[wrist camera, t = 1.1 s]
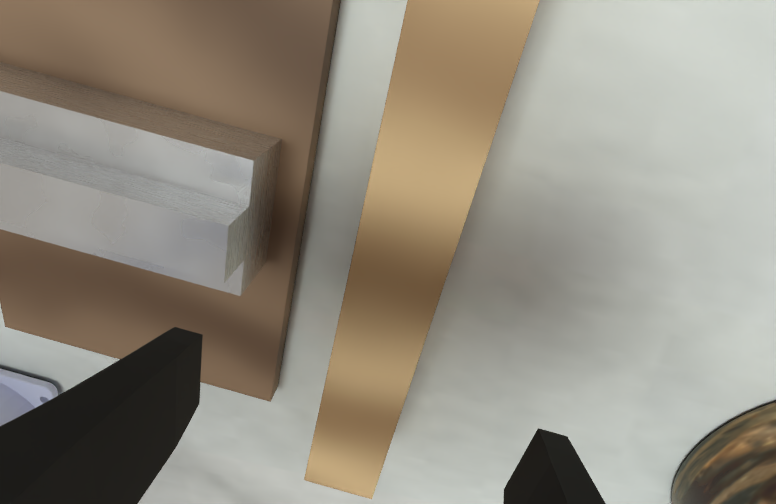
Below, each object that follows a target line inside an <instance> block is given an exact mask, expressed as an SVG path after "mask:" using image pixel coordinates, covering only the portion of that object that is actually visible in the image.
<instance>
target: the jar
mask: <svg viewBox="0 0 776 504" xmlns="http://www.w3.org/2000/svg"><path fill="white" fill-rule="evenodd" d="M671 502H672V504H776V402H774V403H771V404H768V405H765V406H763V407H760V408H758V409H755V410H753V411H751V412H748V413H746V414H744V415H742V416H740V417H738V418H736V419H734V420H732V421H731V422H729V423H727V424H726V425H724V426H722V427H721V428H719V429H718V430H716V431H715V432H714V433H712V434H711V435H709V436H708V437H707V438H706V439H705V440H703V441H702V442H701V443H700V444H699V445H698V446H697V447H696V448H695V449H694V450H693V451H692V452H691V453H690V454H689V456H688V457H687V458H686V459H685V461H684V462H683V464H682V465H681V467H680V469H679V471H678V472H677V475H676V477H675V479H674V483H673V487H672V493H671Z"/></svg>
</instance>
